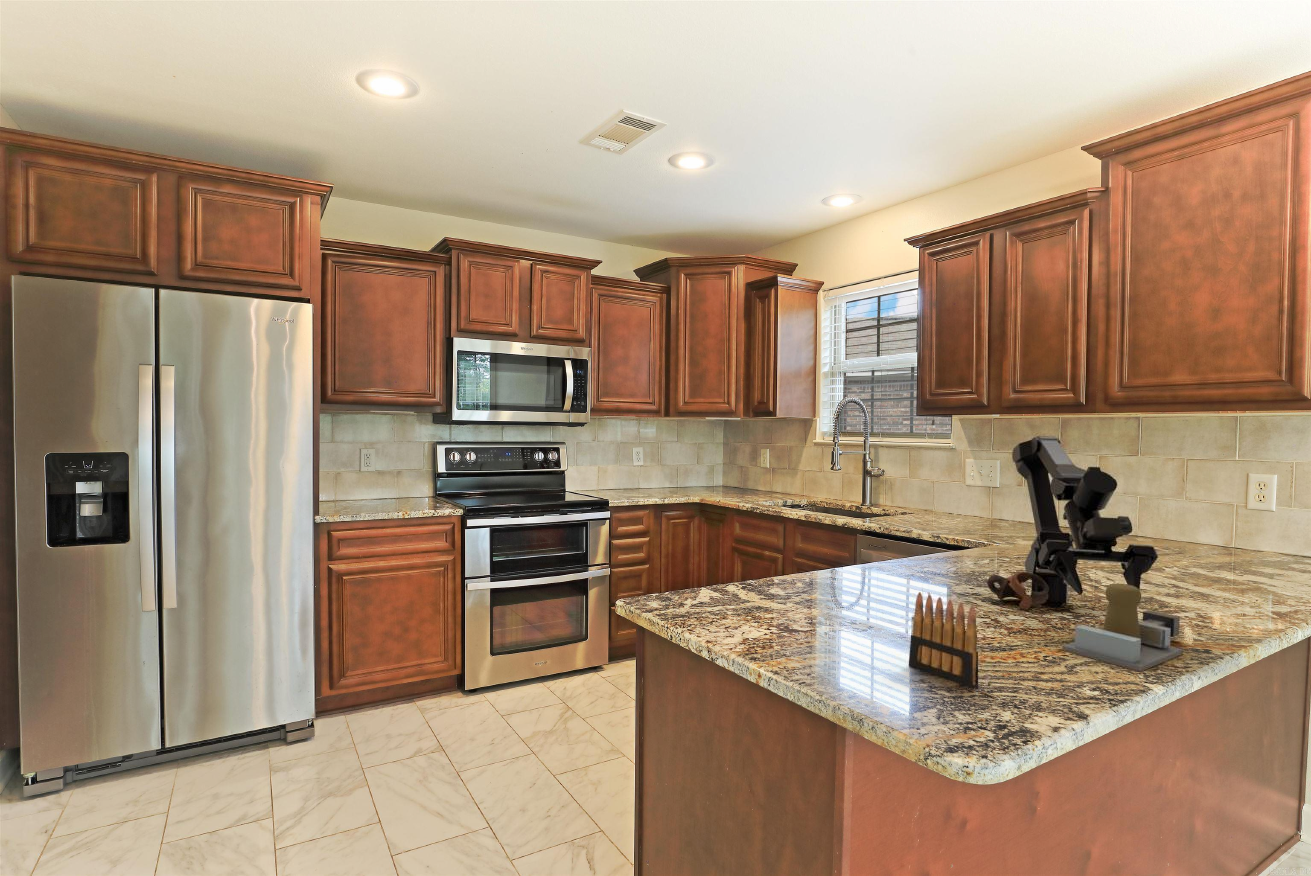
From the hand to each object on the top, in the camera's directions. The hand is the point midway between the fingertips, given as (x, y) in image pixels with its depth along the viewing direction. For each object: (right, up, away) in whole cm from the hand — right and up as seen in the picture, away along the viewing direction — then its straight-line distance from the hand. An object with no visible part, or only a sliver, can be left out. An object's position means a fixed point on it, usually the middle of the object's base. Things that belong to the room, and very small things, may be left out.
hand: (1108, 595), depth 127 cm
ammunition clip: (-38, -8, -19) cm, 43 cm away
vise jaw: (+8, -8, +1) cm, 11 cm away
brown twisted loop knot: (-3, -8, +26) cm, 28 cm away
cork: (-1, -8, -5) cm, 10 cm away
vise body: (+2, -9, -3) cm, 9 cm away
